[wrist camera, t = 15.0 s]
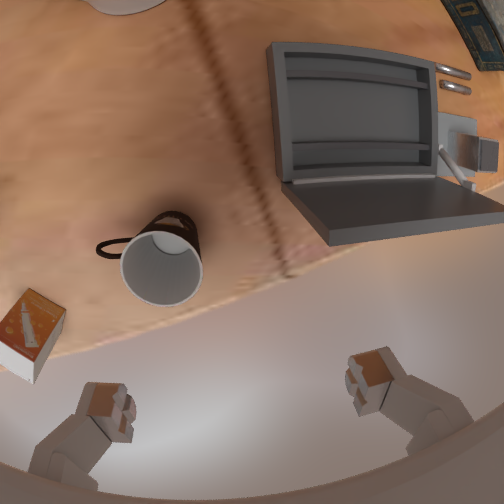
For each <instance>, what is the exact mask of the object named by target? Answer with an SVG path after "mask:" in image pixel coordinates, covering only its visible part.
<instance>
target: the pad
mask: <svg viewBox="0 0 504 504" xmlns="http://www.w3.org/2000/svg"><path fill="white" fill-rule="evenodd" d="M448 131H453V132H461V133H468V134H473V135H477V120H476V119H472V118H467V117H462V116H457V115H452V114H446V113H441V112H438V144H442V145H443V148H444V150H445V151H446V152H447V153H448ZM457 166H458V165H457ZM458 167H459V169H460V170H461V171H462V173H463V174H464V176H468V177H475V171H473V170H470V169H467V168H464V167H461V166H458ZM435 176H454V174H453V173H452V172H451V170H450V169H449V168H448V166H447V165H446V164H445V162H444V161H443V160H442V158H441V157H440V156H438V164H437V175H435Z"/></svg>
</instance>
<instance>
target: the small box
mask: <svg viewBox="0 0 504 504" xmlns="http://www.w3.org/2000/svg"><path fill="white" fill-rule="evenodd" d="M65 311H66V310H65V309H63V308H61V307H59V306H58V305H56V304H54V303H52V302H51V301H49V300H47V299H45V298H44V297H42V296H41V295H39V294H37V293H36V292H34V291H33V290H31V289H30V288H29V289H28V290H27V291H26V292H25V293H24V294H23V295H22V296H21V298H20V299H19V300H18V301H17V302H16V304H15V305H14V306H13V307H12V308H11V310H10V311H9V312H8V313H7V315H6V316H5V317H4V318H3V320H2V321H1V322H0V364H1V365H2V366H4V367H5V368H7V369H8V370H10V371H11V372H12V373H14V374H16V375H18V376H20V377H22V378H23V379H25V380H26V381H28V382H30V383H32V384H35V381H36V379H37V377H38V375H39V373H40V371H41V369H42V367H43V365H44V363H45V362H46V360H47V358H48V356H49V354H50V352H51V351H52V349H53V347H54V345H55V343H56V341H57V339H58V337H59V336H60V334H61V330H62V325H63V320H64V316H65Z"/></svg>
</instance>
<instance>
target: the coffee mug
mask: <svg viewBox="0 0 504 504" xmlns="http://www.w3.org/2000/svg"><path fill="white" fill-rule="evenodd" d="M125 242H129V243H128V244H127V245H126V247H125V249H124V250H123V252H122V253H121V254H110V253H106V252H104V251H102V250H101V248H103V247H105V246H108V245H111V244H116V243H125ZM96 253H97V254H98V255H99V256H101V257H104V258H107V259H120V273H121V276H122V279H123V281H124V283H125V285H126V287H127V288H128V289H129V291H130V292H131V293H132V294H133V295H134V296H136V297H137V298H138V299H140V300H141V301H143V302H145V303H148V304H150V305H154V306H158V307H173V306H177V305H180V304H182V303H184V302H187V301H188V300H189V299H191V298H192V297H193V296H194V295H195V294H196V293H197V291H198V289H199V288H200V286H201V283H202V279H203V267H202V261H201V254H200V248H199V242H198V235H197V229H196V226H195V224H194V222H193V221H192V220H191V219H190V218H189V217H188V216H187V215H185V214H183V213H181V212H177V211H167V212H164V213H161V214H160V215H158V216H157V217H156V218H155V219H154V220H153V221H152V222H150V223H149V224H148V225H147V226H146V227H145V228H144V229H143V230H142V231H141V232H140V233H139V234H137V235H136V236H135V237H133V238H121V239H114V240H109V241H105V242H102V243H100V244H98V245H97V247H96Z"/></svg>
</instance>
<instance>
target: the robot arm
mask: <svg viewBox="0 0 504 504" xmlns="http://www.w3.org/2000/svg"><path fill="white" fill-rule="evenodd" d="M84 1H87V2H88V3H89V4H90V5H92V6H93V7H94V8H95V9H96V10H98V11H100V12H103V13H106V14H111V15H127V14H133V13H137V12H141V11H144V10H147V9H149V8H152V7H154V6H156V5H158V4H160V3H162V2H163V1H165V0H84ZM348 365H349V369H348V370H347V371H346V375H345V382H346V387H347V390H348V392H349V394H350V395H351V396H353V397H355V398H354V402H353V404H354V406H355V409H356V411H357V413H358V416H359V417H360V416H363V415H367V414H370V413H374V412H377V411H380V412H381V413H382V414H383V415H385V416H386V417H387V418H389V419H390V420H392V421H393V422H394V423H396V424H397V425H399V426H400V427H402V428H403V429H404V430H406V431H407V432H409V433H410V434H412V435H413V438H412V439H411V441H410V442H409V444H408V445H407V447H406V450H407V453H408V455H409V456H407V457H405V458H402V459H400V460H397V461H395V462H392V463H390V464H387V465H385V466H382V467H379V468H376V469H373V470H371V471H368V472H365V473H362V474H358V475H355V476H352V477H349V478H346V479H342V480H338V481H334V482H331V483H327V484H323V485H318V486H314V487H310V488H305V489H301V490H295V491H290V492H284V493H278V494H271V495H264V496H256V497H247V498H235V499H218V500H167V499H153V498H141V497H132V496H124V495H117V494H111V493H104V492H99V491H97V490H98V483H97V481H96V480H94V479H93V478H92V477H91V476H89V475H88V473H89V472H90V471H91V469H92V468H93V467H94V466H95V464H96V463H97V462H98V460H99V459H100V458H101V457H102V455H103V454H104V453H105V452H106V450H107V449H108V448H109V447H110V445H111V444H112V442H120V443H121V442H122V443H131V442H132V437H133V431H134V428H133V427H132V425H131V423H132V422H133V421H134V420H135V419H136V405H135V402H134V400H133V398H132V397H131V396H130V395H128V394H127V388H126V386H125V385H124V384H121V383H98V382H88V383H86V384H85V386H84V389H83V392H82V394H81V398H80V400H79V403H78V406H77V409H76V412H75V415H73V414H72V415H71V416H69V417H68V418H67V419H66V420H65V421H64V422H62V423H61V424H60V425H59V426H58V427H57V428H56V429H55V430H54V431H52V432H51V433H50V434H49V435H48V436H47V437H46V438H44V439H43V440H42V441H41V442H40V443H39V444H38V445H36V447H35V450H34V453H33V456H32V459H31V462H30V466H29V470H28V472H25V471H23V470H20V469H17V468H15V467H12V466H10V465H7V464H5V463H2V462H0V504H504V402H503V403H502V404H501V405H499V406H498V407H496V408H495V409H494V410H492V411H491V412H489V413H487V414H486V415H484V416H483V417H481V418H480V419H478V420H477V421H475V422H474V420H473V419H472V417H471V416H470V414H469V412H468V411H467V409H466V408H465V406H464V405H463V403H462V402H461V400H460V399H459V398H458V397H456V396H454V395H452V394H449V393H447V392H445V391H443V390H441V389H439V388H437V387H435V386H433V385H431V384H429V383H427V382H425V381H423V380H421V379H419V378H417V377H415V376H413V375H407V374H406V373H405V371H404V369H403V368H402V366H401V365H400V363H399V362H398V360H397V359H396V357H395V356H394V354H393V353H392V351H391V350H390V348H389V347H387V346H386V347H383V348H379V349H375V350H371V351H368V352H364V353H360V354H356V355H352V356H350V357H349V359H348Z"/></svg>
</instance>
